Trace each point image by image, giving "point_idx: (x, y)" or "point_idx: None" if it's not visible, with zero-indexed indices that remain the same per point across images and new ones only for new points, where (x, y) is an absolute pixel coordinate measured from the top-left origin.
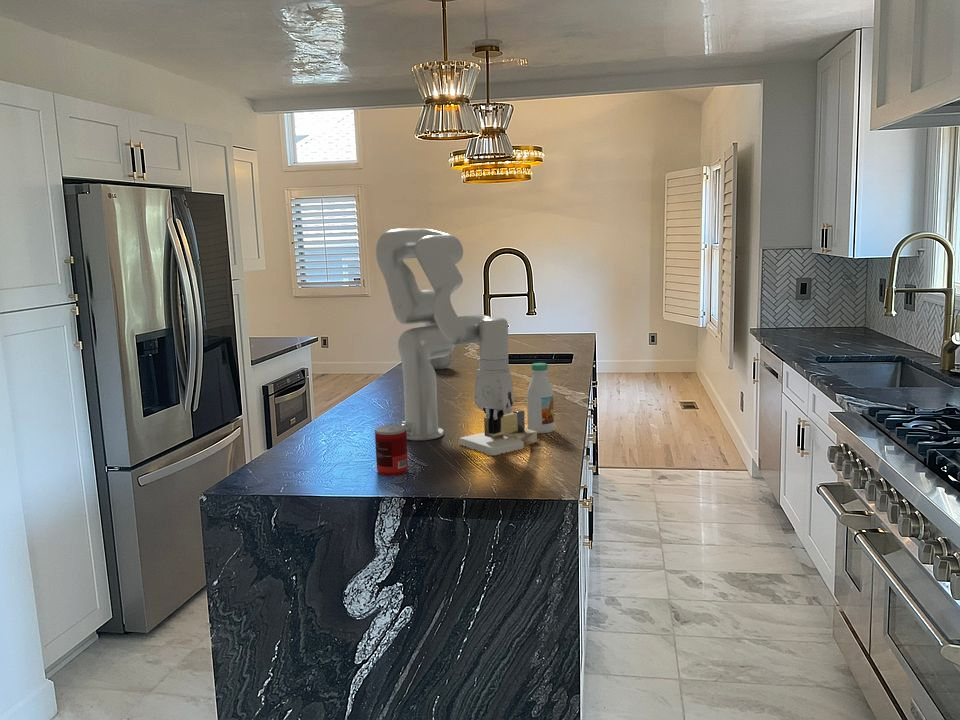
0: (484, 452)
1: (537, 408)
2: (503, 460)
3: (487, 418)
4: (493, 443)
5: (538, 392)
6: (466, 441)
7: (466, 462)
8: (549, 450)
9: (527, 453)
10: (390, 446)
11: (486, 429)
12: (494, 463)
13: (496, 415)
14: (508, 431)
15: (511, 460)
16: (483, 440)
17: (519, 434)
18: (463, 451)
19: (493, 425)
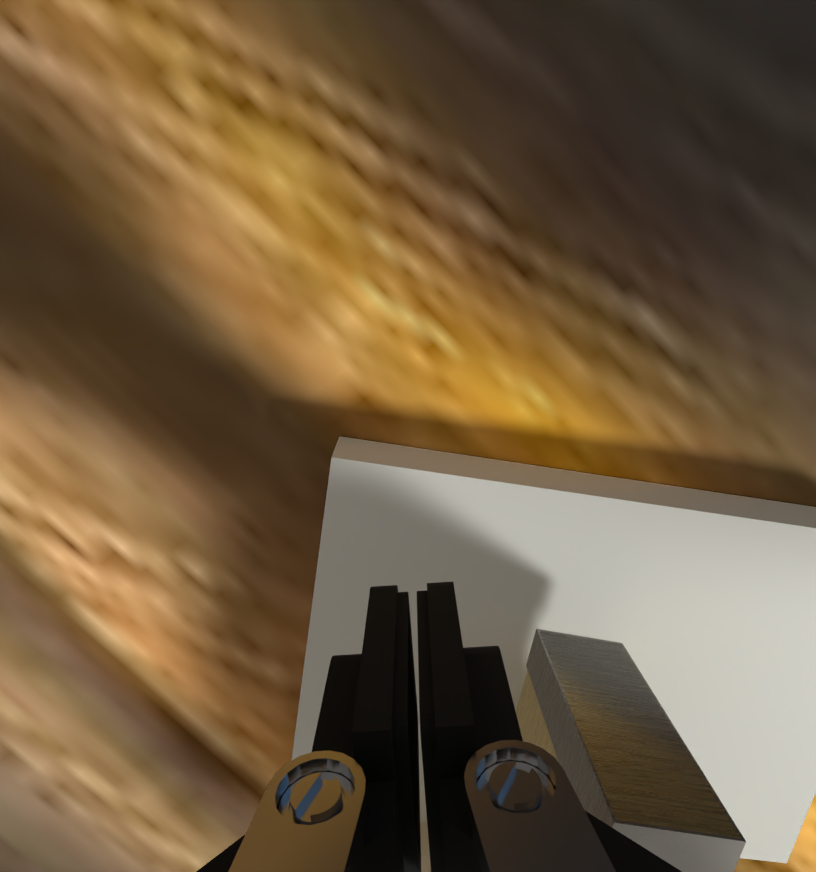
0: (473, 457)
1: None
2: (150, 384)
3: (648, 827)
4: (461, 594)
5: None
6: (784, 519)
7: (381, 82)
8: (98, 826)
9: (163, 670)
10: None
11: (613, 693)
12: (134, 249)
13: (259, 842)
14: None
15: (95, 430)
16: (625, 615)
17: None
18: (682, 372)
19: (361, 661)
